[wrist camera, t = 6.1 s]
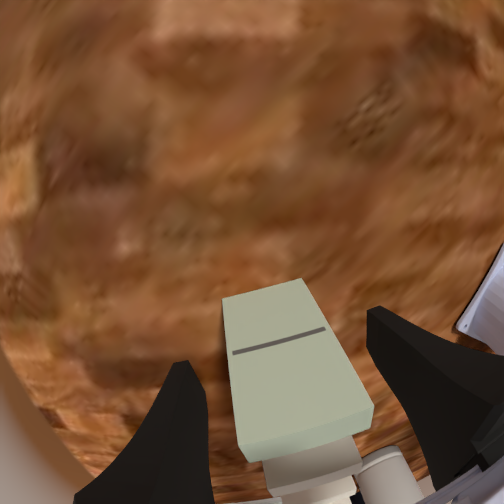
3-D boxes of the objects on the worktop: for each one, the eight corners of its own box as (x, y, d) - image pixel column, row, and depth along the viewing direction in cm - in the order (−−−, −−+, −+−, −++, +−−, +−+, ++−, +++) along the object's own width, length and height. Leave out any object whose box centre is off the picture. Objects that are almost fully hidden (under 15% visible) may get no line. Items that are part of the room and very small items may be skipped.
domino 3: (260, 406, 18) (283, 510, 11) (317, 390, 18) (356, 488, 11) (264, 416, 18) (287, 514, 11) (318, 401, 19) (355, 494, 11)
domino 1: (222, 298, 14) (237, 445, 7) (301, 277, 14) (374, 405, 7) (229, 321, 15) (249, 463, 7) (304, 301, 15) (369, 427, 8)
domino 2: (244, 363, 16) (267, 489, 9) (311, 344, 16) (362, 461, 9) (250, 378, 17) (273, 497, 9) (313, 360, 17) (360, 471, 9)
